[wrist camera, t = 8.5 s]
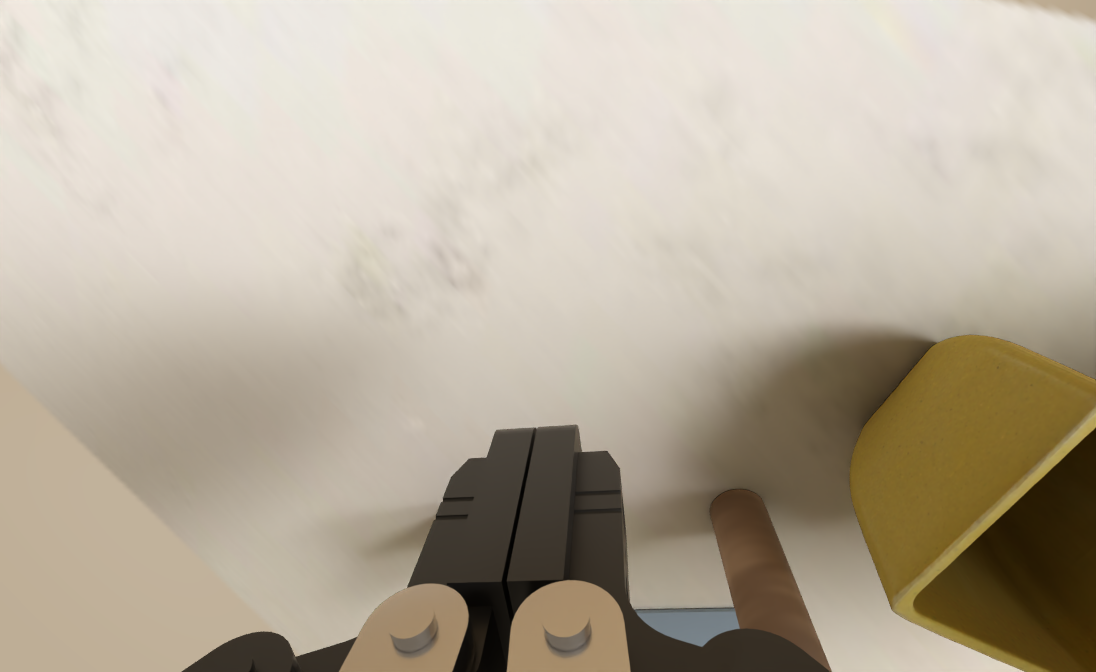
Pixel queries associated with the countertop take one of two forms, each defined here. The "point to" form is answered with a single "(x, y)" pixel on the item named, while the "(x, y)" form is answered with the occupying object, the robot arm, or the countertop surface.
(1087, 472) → the flower pot
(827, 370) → the countertop surface
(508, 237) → the countertop surface
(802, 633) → the inner post
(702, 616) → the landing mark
